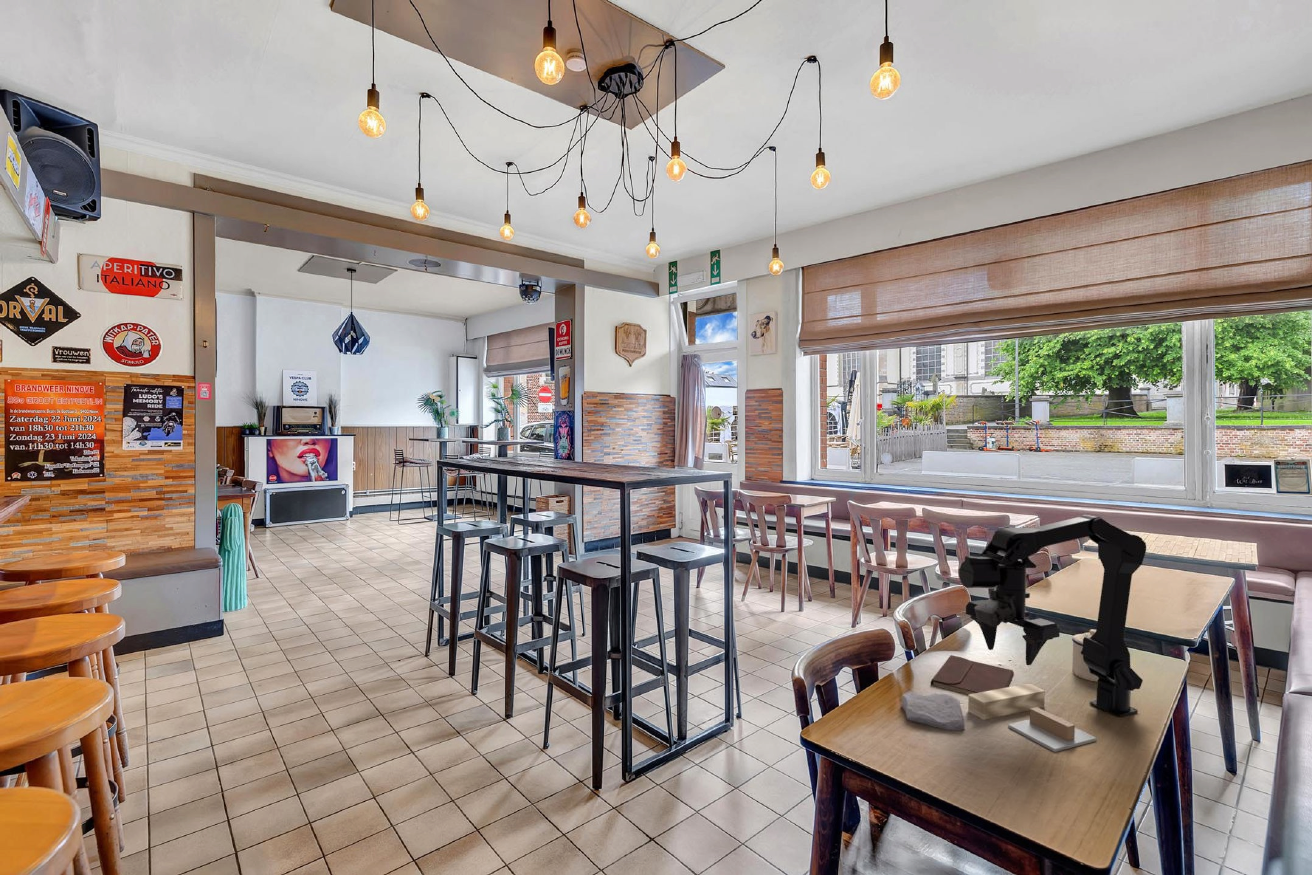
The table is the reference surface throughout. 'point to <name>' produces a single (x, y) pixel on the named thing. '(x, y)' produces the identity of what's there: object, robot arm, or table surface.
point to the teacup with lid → (1081, 657)
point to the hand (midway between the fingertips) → (1009, 656)
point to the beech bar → (1005, 701)
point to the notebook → (971, 676)
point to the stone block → (934, 710)
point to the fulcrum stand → (1051, 731)
